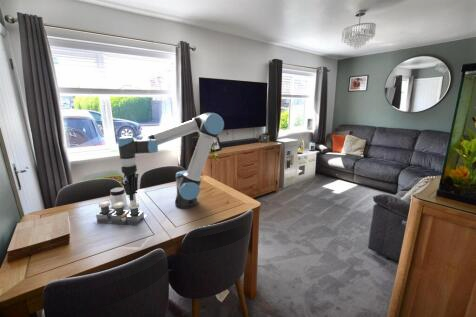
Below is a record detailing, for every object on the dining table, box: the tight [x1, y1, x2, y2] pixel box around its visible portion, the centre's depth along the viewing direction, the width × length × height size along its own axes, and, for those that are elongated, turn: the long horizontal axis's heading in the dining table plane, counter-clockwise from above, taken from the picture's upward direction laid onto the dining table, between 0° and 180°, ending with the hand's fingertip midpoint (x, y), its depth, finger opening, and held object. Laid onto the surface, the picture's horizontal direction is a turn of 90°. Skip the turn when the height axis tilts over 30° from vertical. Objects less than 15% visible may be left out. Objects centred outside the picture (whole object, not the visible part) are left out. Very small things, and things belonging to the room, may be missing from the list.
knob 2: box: [127, 202, 140, 216], centre depth 128 cm, size 6×6×9 cm
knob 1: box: [98, 200, 111, 214], centre depth 130 cm, size 6×6×9 cm
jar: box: [109, 187, 128, 208], centre depth 146 cm, size 9×8×12 cm
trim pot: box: [120, 213, 127, 224], centre depth 125 cm, size 3×3×5 cm
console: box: [93, 208, 148, 227], centre depth 130 cm, size 26×12×5 cm, turn 85°
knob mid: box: [113, 202, 126, 215], centre depth 129 cm, size 6×6×9 cm
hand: (133, 204), depth 127 cm, fingers closed
